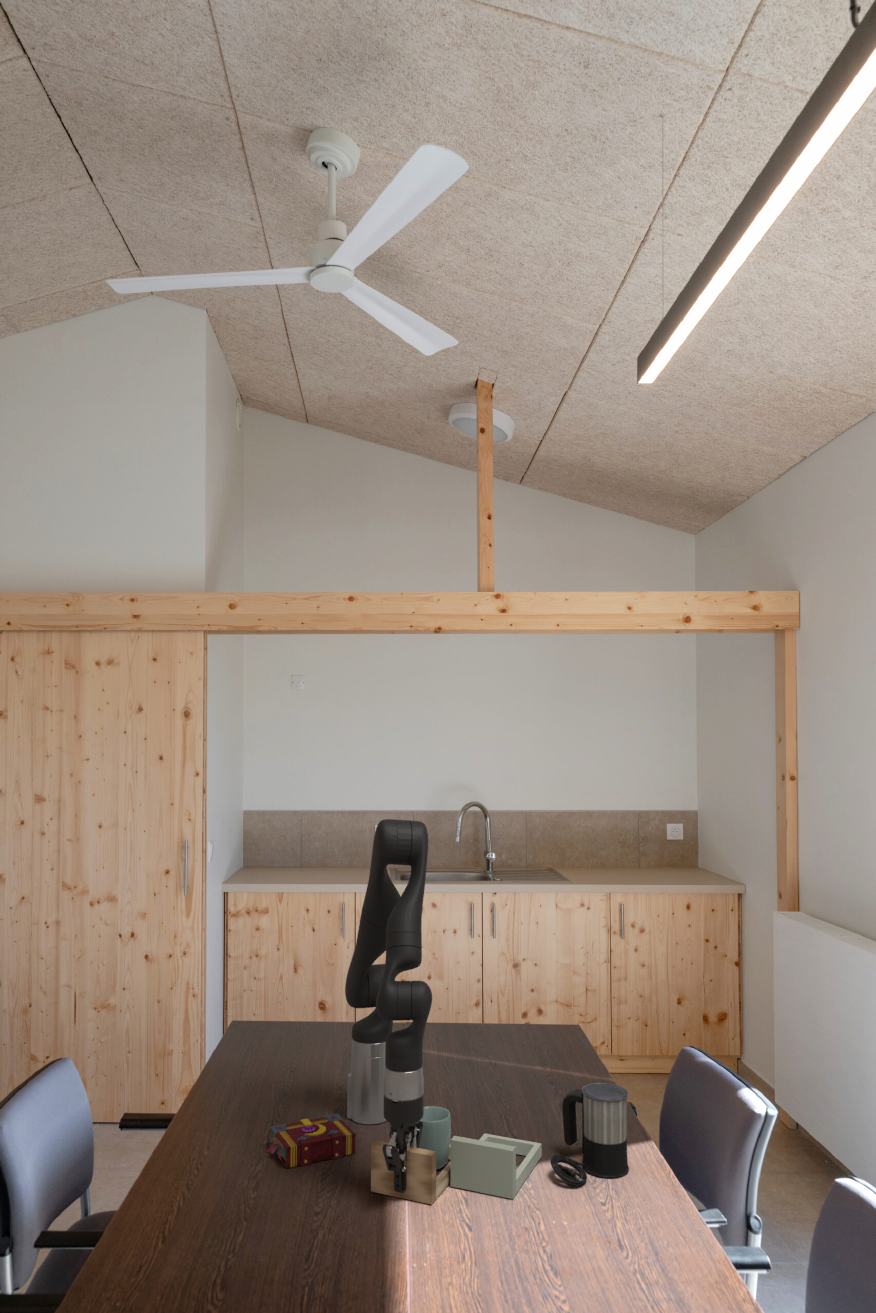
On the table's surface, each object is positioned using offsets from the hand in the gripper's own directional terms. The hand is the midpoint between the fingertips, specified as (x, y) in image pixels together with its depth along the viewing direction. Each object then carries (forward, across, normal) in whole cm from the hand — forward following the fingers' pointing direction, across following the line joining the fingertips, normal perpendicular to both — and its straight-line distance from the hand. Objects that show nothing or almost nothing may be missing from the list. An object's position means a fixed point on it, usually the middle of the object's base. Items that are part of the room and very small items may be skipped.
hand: (403, 1187), depth 165 cm
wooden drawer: (+2, -9, 0) cm, 9 cm away
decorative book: (+2, -10, -26) cm, 27 cm away
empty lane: (+2, -17, +13) cm, 21 cm away
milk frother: (+2, -23, +30) cm, 38 cm away
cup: (+2, -13, 0) cm, 13 cm away
